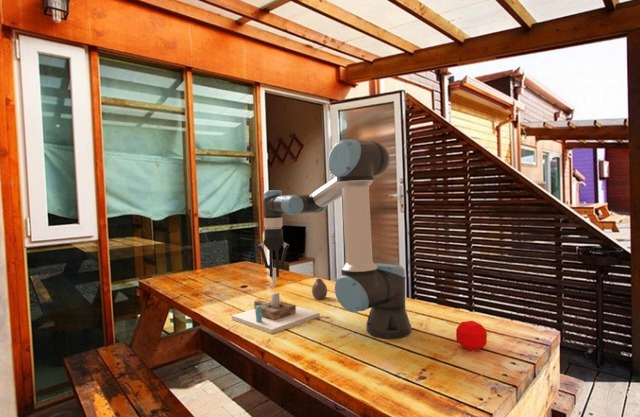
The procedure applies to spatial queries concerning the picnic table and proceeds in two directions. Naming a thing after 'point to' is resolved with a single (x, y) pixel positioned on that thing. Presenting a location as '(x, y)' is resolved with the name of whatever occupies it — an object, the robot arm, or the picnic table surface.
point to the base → (279, 324)
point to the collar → (276, 313)
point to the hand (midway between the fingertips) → (274, 284)
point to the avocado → (319, 289)
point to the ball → (471, 335)
